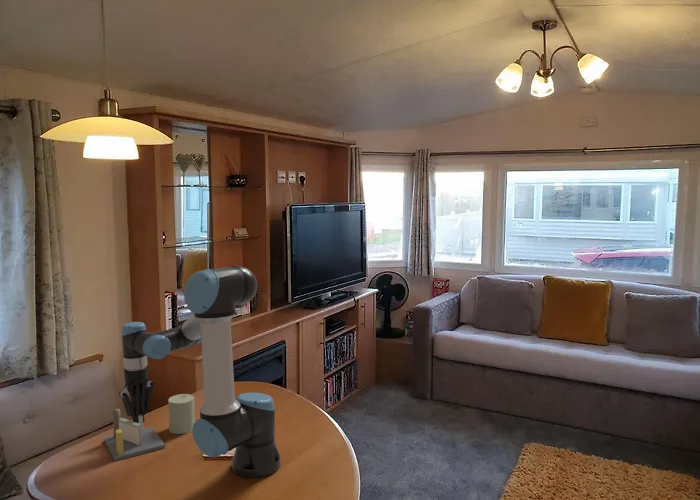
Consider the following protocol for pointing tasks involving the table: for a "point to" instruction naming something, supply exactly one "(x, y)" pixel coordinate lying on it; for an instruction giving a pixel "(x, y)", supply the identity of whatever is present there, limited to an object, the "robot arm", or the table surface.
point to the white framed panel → (131, 431)
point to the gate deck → (128, 449)
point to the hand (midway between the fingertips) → (139, 432)
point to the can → (181, 413)
